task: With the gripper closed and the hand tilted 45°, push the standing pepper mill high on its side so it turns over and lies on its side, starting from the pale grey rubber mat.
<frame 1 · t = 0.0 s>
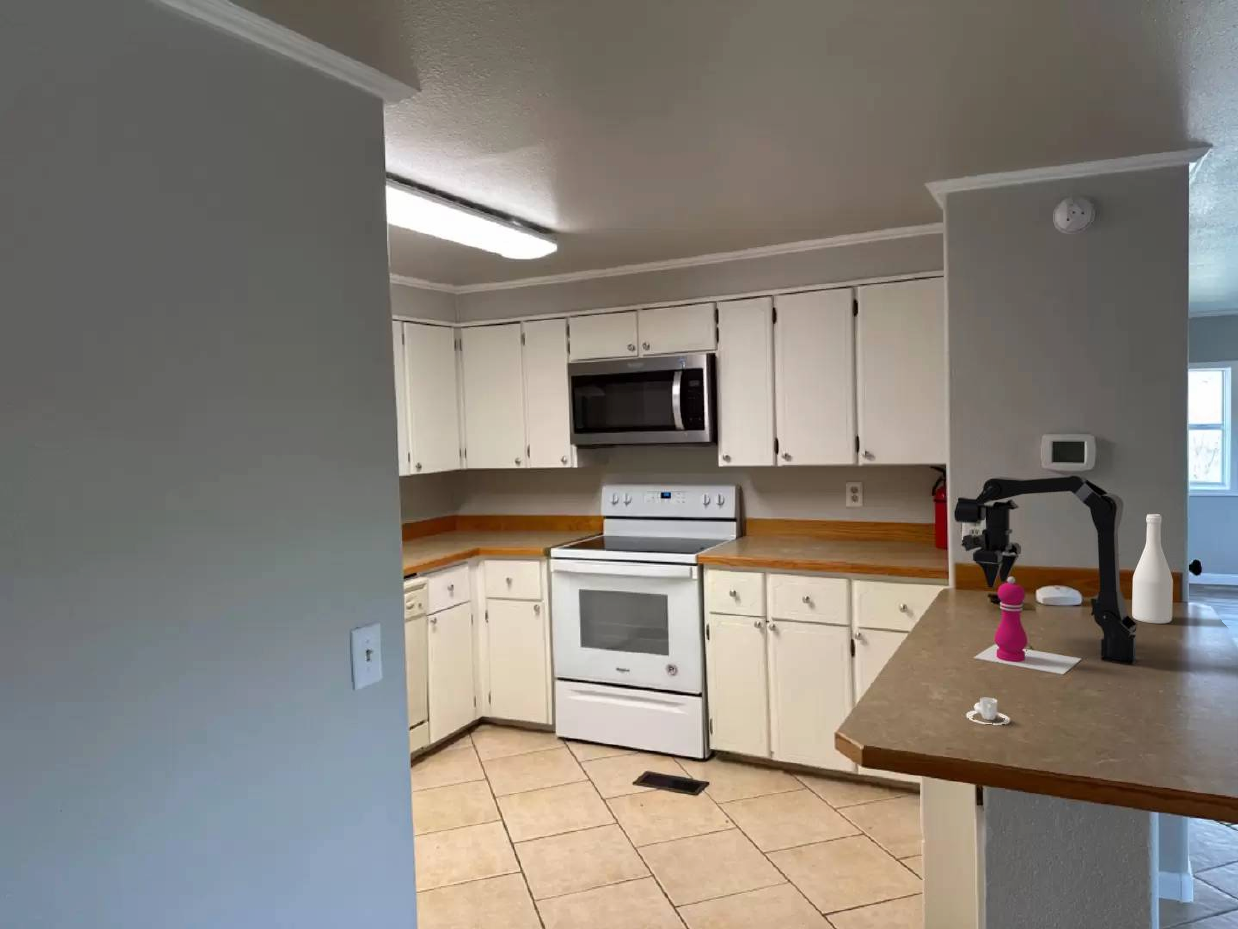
hand: (997, 584, 218), 15 cm above the table, tool pointing down, fingers open, 9 cm apart
rubber mat: (1027, 658, 202), on the table
teacup and saucer: (1000, 719, 166), on the table
wine bottle: (1151, 620, 235), on the table
pepper mill: (1010, 659, 202), resting on rubber mat
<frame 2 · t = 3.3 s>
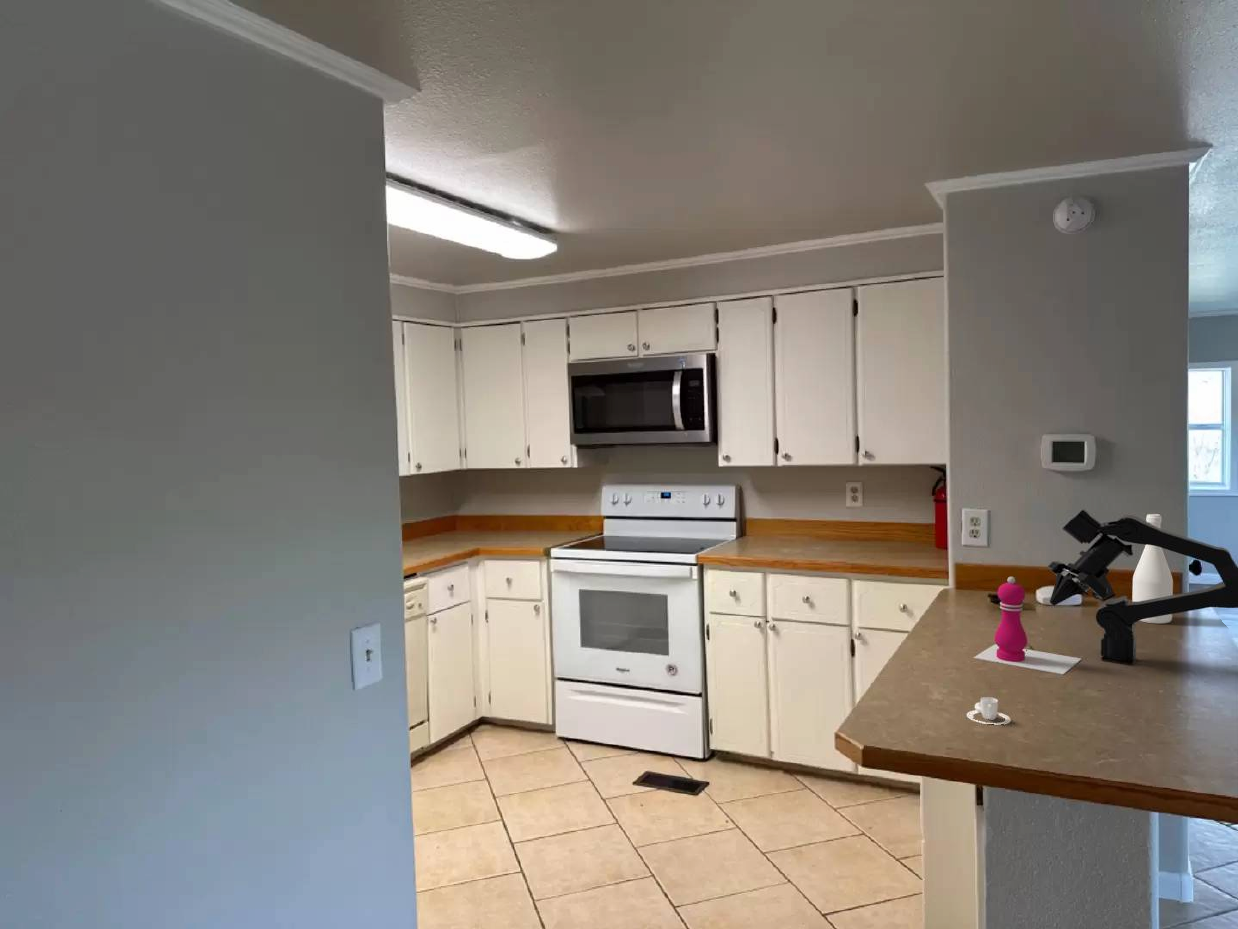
hand: (1051, 604, 201), 13 cm above the table, tool tilted 45°, fingers closed
nothing on the table moved.
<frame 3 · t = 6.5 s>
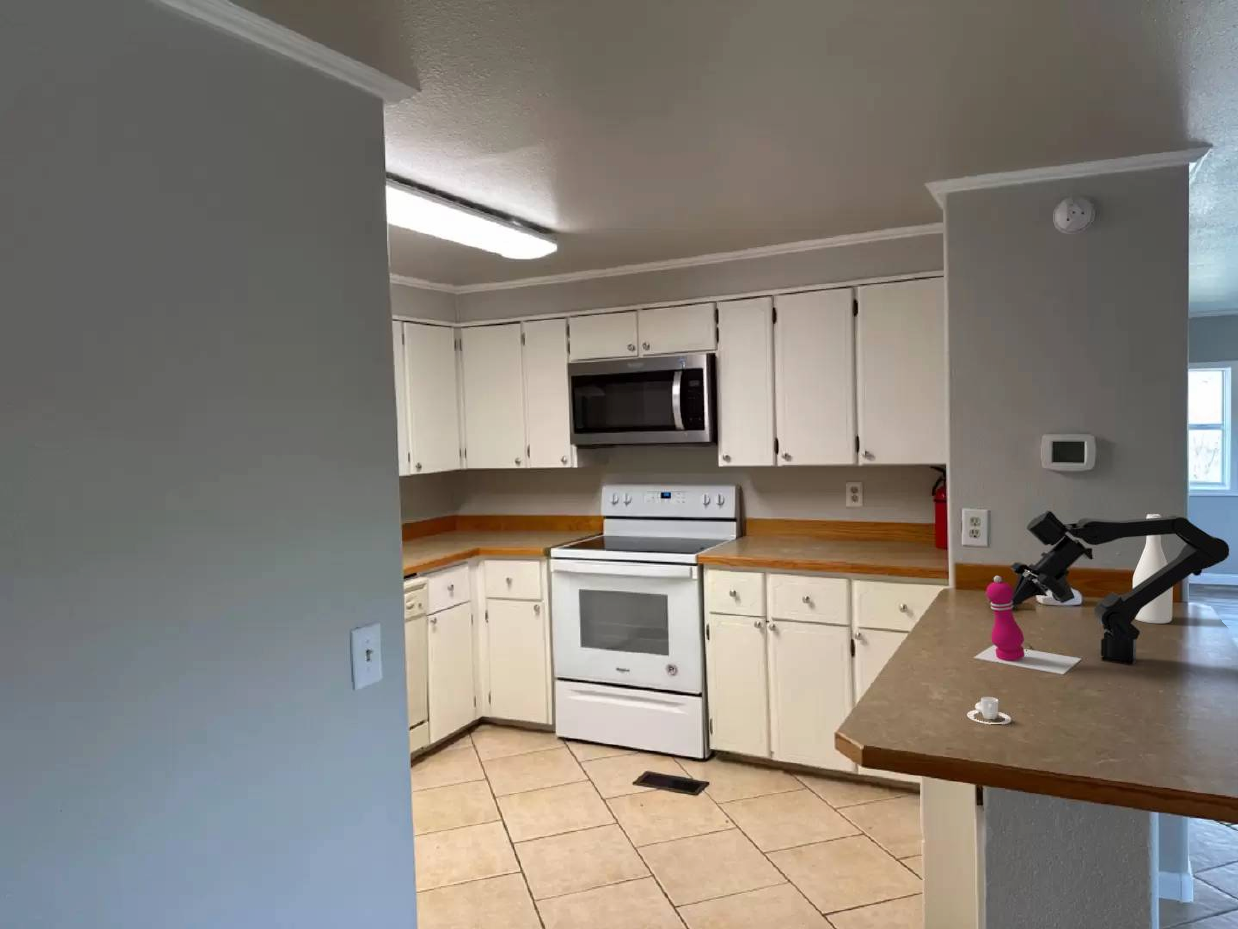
hand: (1011, 604, 202), 13 cm above the table, tool tilted 45°, fingers closed
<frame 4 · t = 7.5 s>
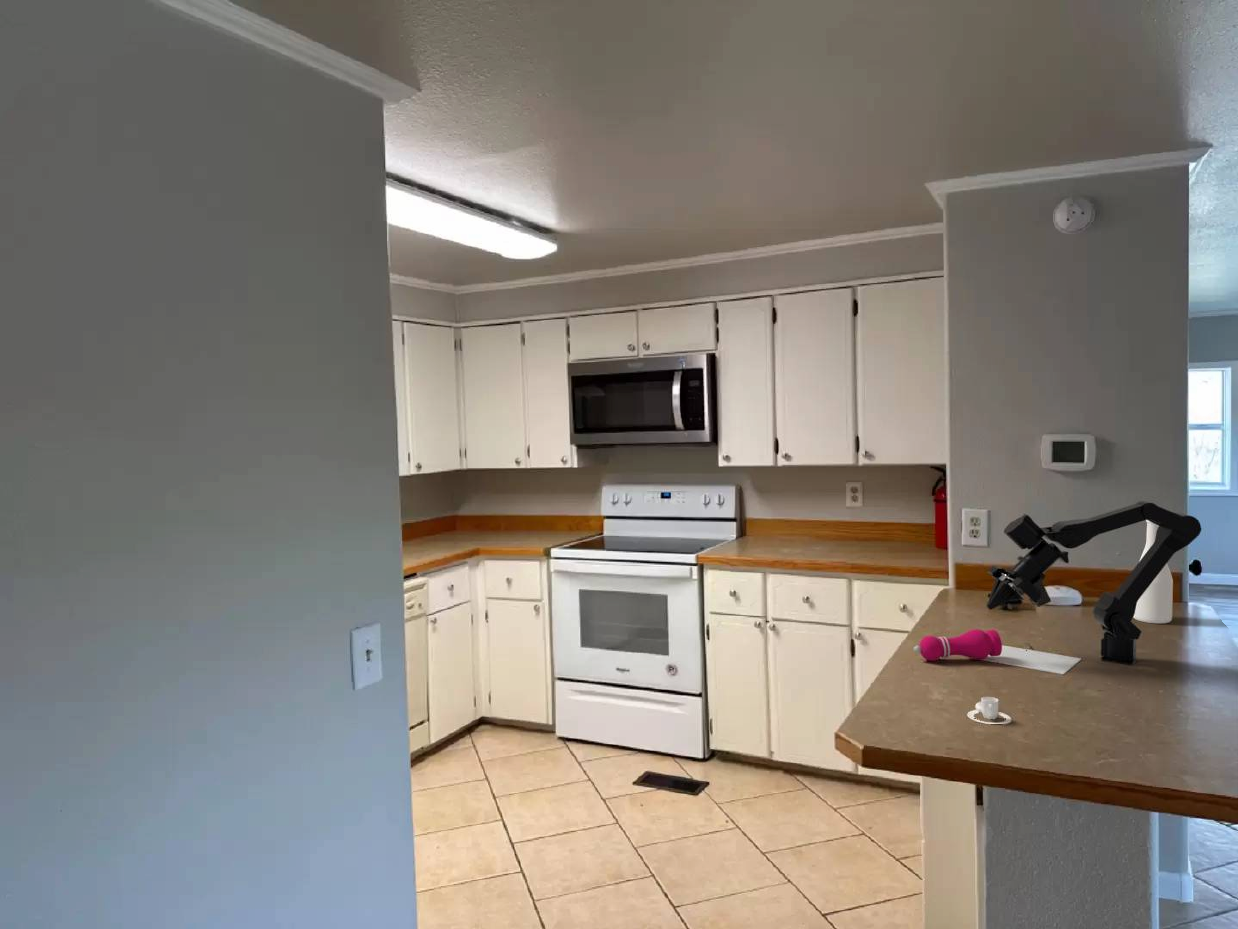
hand: (988, 608, 202), 12 cm above the table, tool tilted 45°, fingers closed
pepper mill: (997, 642, 202), point 4 cm above the table, touching rubber mat
everything else where it was.
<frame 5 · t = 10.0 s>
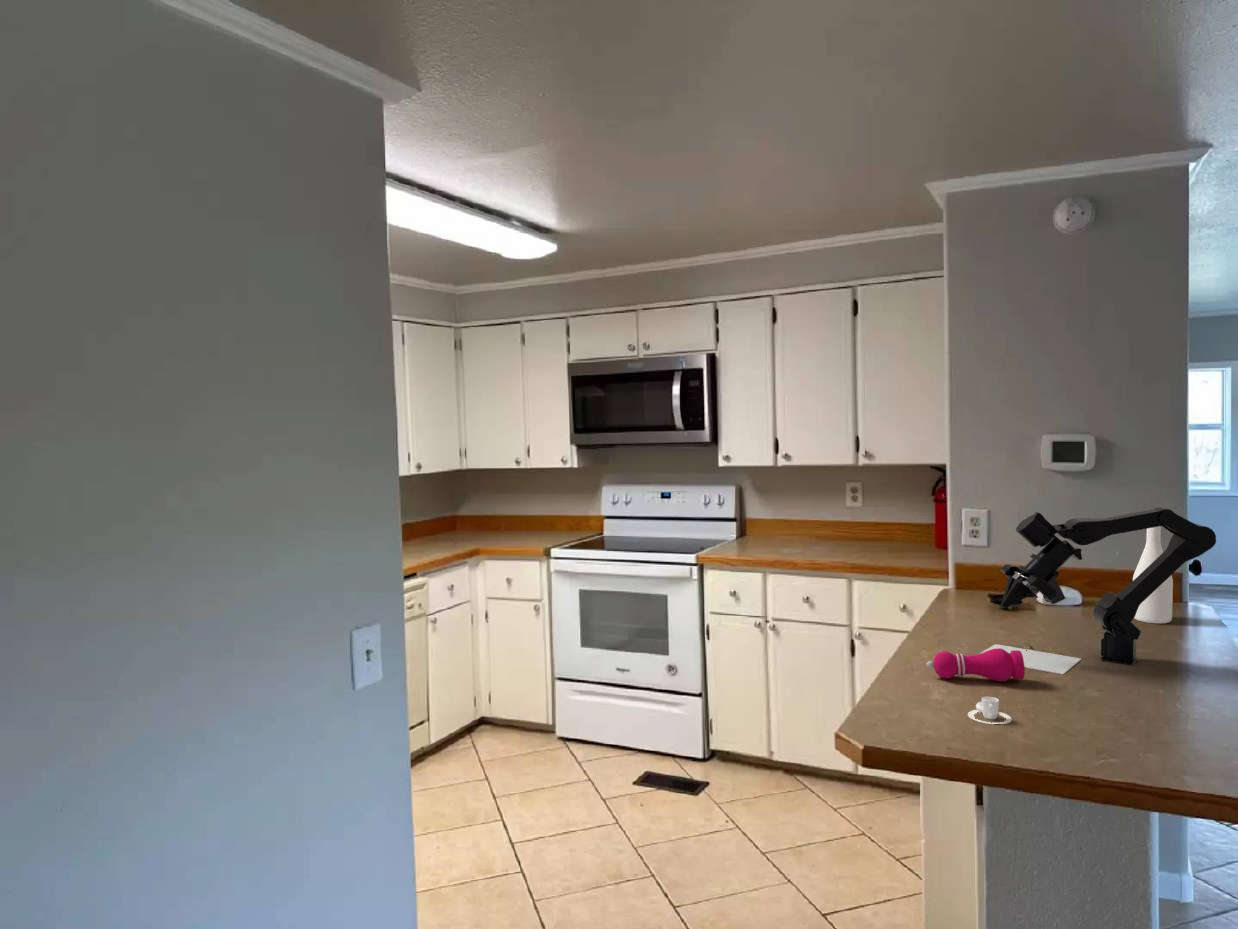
hand: (1002, 606, 202), 13 cm above the table, tool tilted 45°, fingers closed
pepper mill: (1022, 664, 185), point 4 cm above the table
everything else where it was.
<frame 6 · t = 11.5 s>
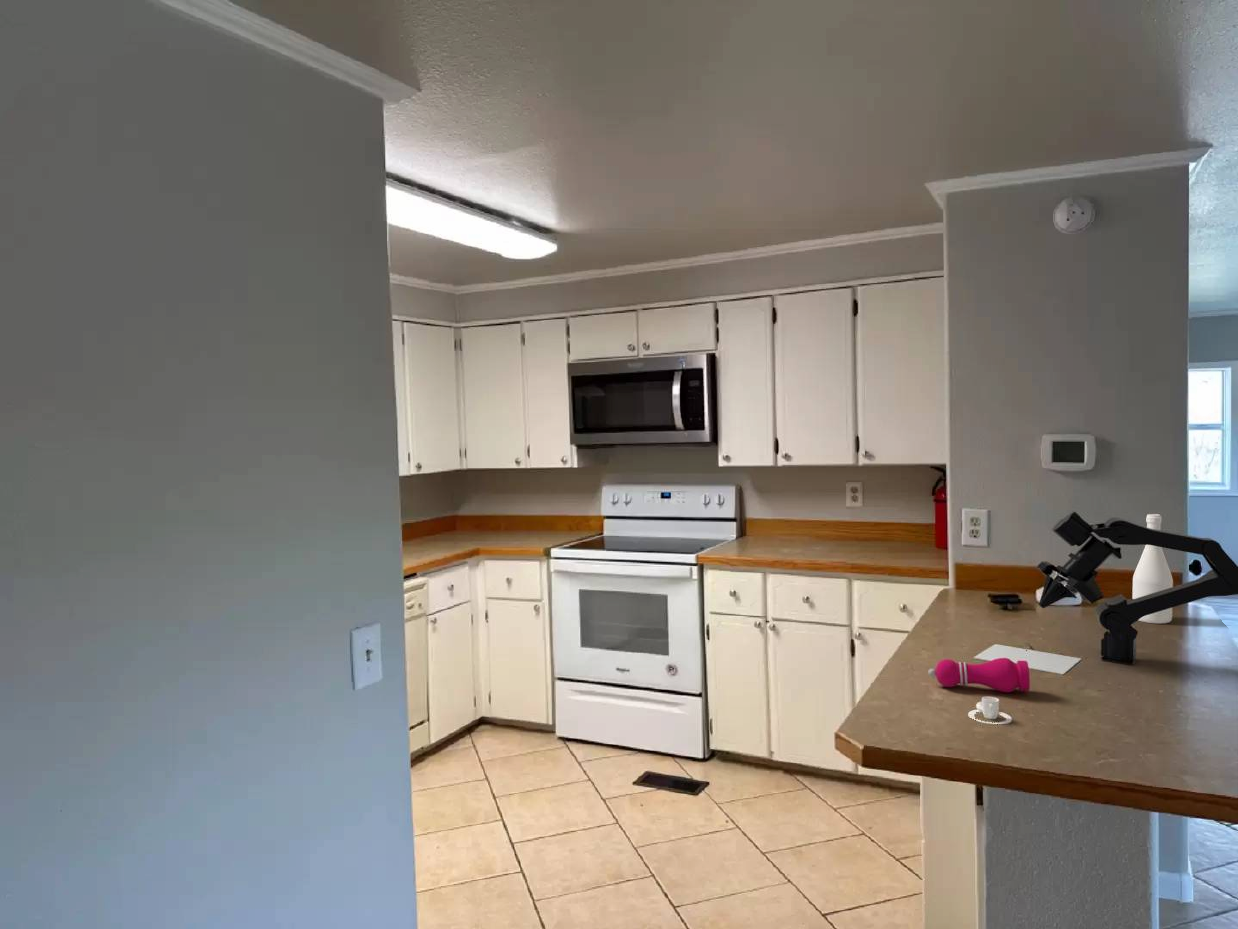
hand: (1040, 606, 202), 13 cm above the table, tool tilted 45°, fingers closed
pepper mill: (1028, 675, 178), point 4 cm above the table
everything else where it was.
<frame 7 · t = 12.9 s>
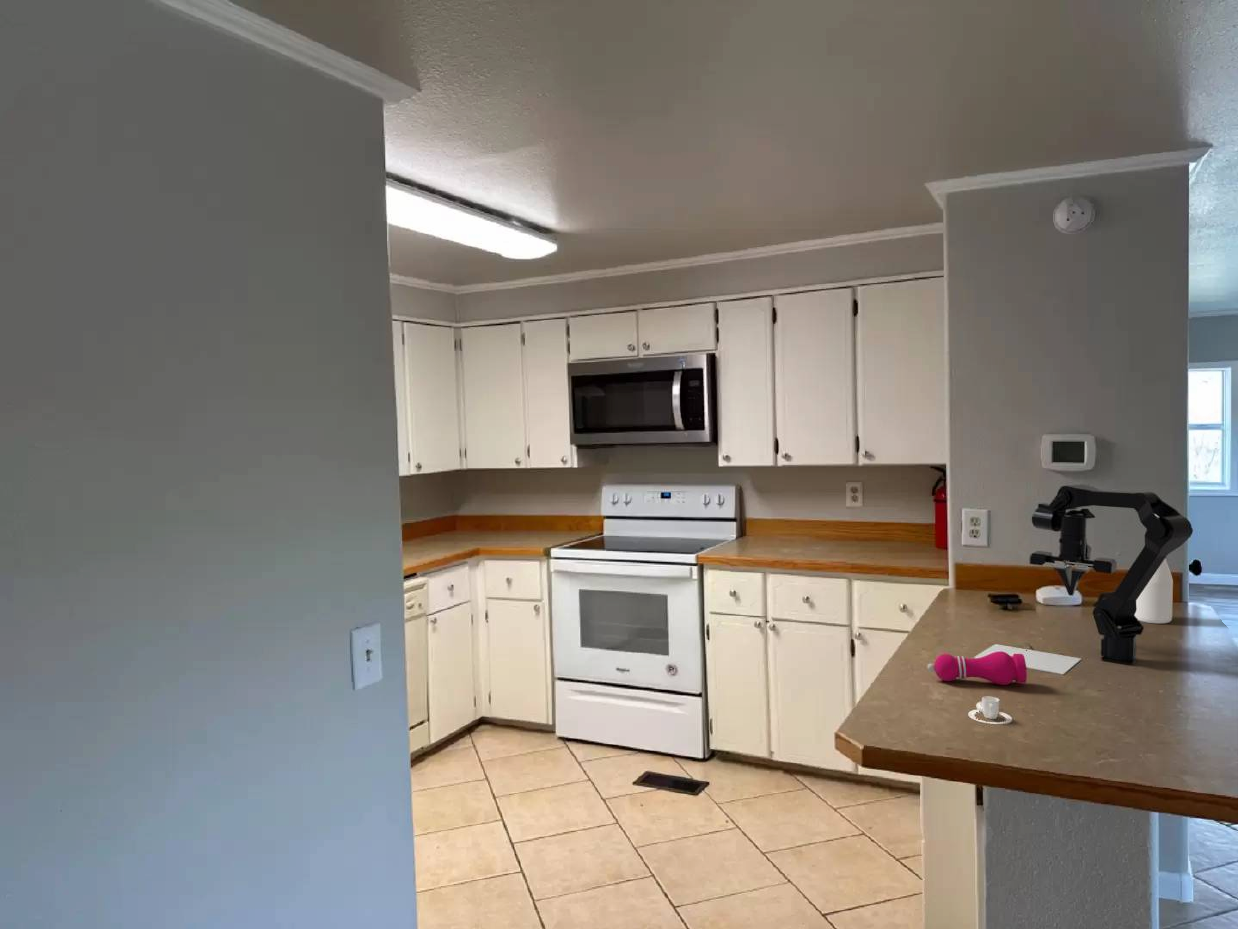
hand: (1071, 595, 211), 13 cm above the table, tool pointing down, fingers closed
pepper mill: (1024, 668, 183), point 4 cm above the table
everything else where it was.
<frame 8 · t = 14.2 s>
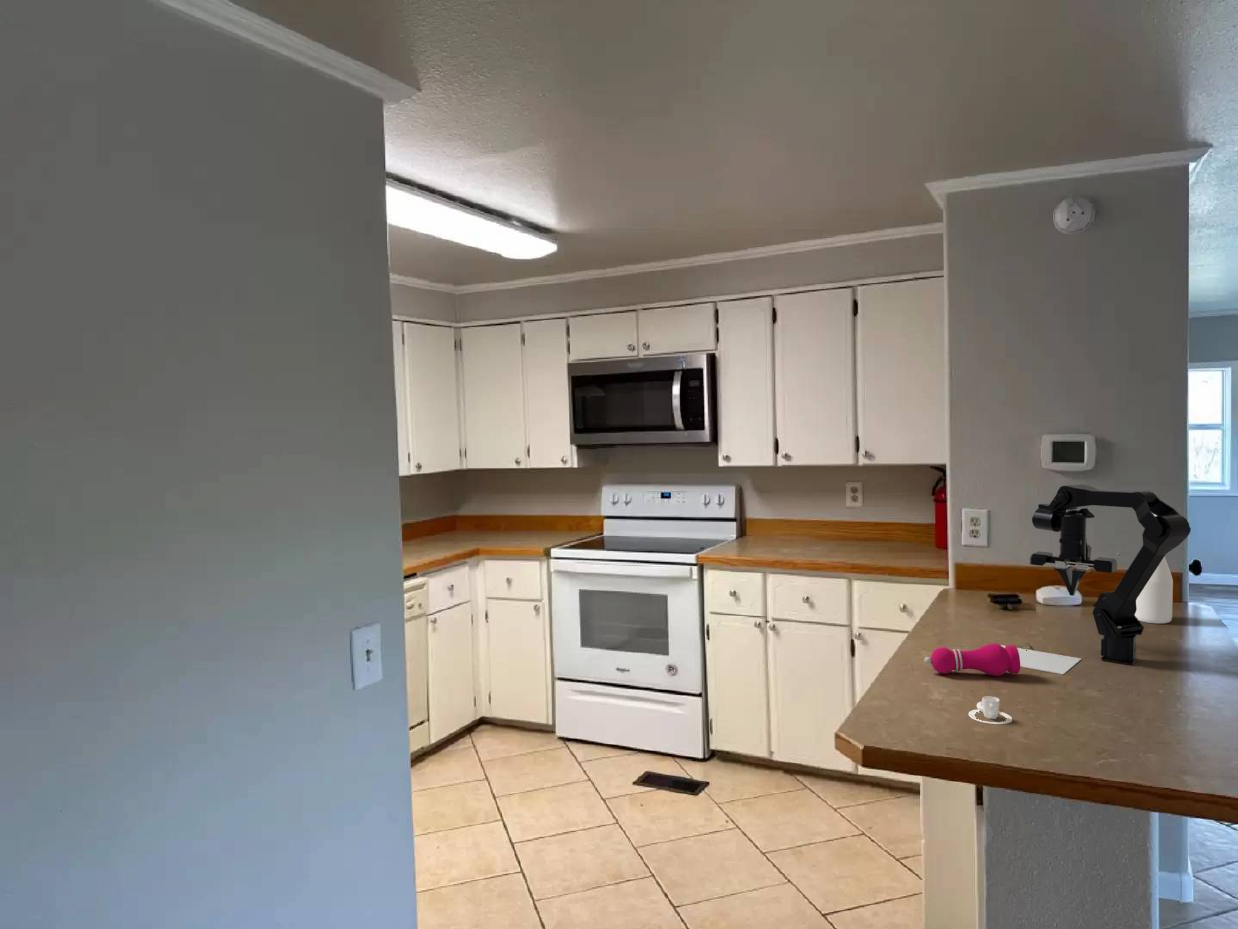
hand: (1072, 595, 211), 13 cm above the table, tool pointing down, fingers closed
pepper mill: (1017, 659, 190), point 4 cm above the table
everything else where it was.
at the end: pepper mill tilted 93°; pepper mill inside the target area (11.4 cm from its centre), point 3.9 cm above the table; the gripper is holding nothing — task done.
